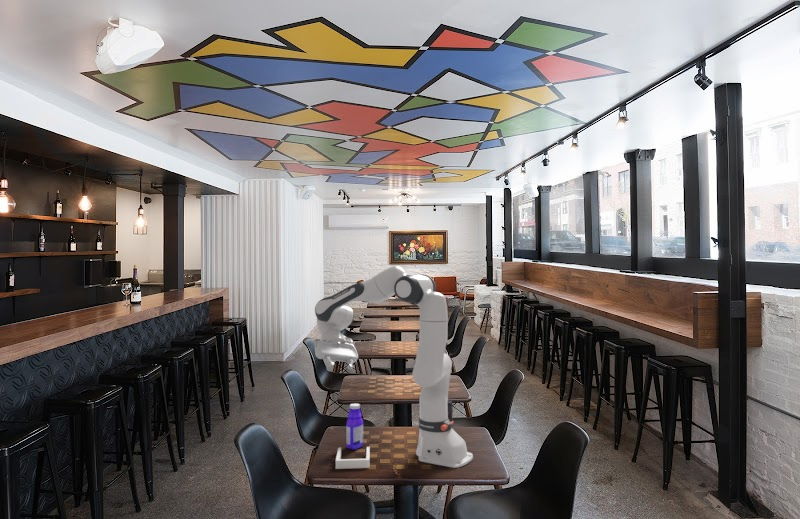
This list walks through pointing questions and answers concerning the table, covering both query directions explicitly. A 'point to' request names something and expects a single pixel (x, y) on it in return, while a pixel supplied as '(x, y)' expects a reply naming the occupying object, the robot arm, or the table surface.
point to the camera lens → (450, 410)
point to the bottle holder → (352, 461)
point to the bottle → (354, 428)
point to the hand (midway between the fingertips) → (341, 367)
